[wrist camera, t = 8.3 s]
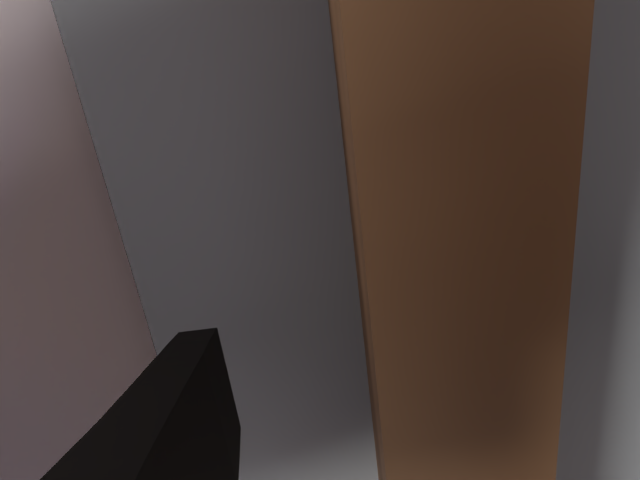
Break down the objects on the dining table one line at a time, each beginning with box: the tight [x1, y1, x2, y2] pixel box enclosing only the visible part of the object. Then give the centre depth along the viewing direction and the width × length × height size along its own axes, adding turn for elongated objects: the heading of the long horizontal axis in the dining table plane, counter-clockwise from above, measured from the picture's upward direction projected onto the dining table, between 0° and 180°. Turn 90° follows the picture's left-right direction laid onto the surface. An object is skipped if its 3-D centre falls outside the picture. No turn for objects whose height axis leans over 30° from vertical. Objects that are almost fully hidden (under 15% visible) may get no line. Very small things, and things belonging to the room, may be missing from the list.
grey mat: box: [50, 0, 640, 480], centre depth 10 cm, size 10×28×1 cm, turn 7°
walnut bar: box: [328, 0, 595, 480], centre depth 9 cm, size 2×24×2 cm, turn 7°
